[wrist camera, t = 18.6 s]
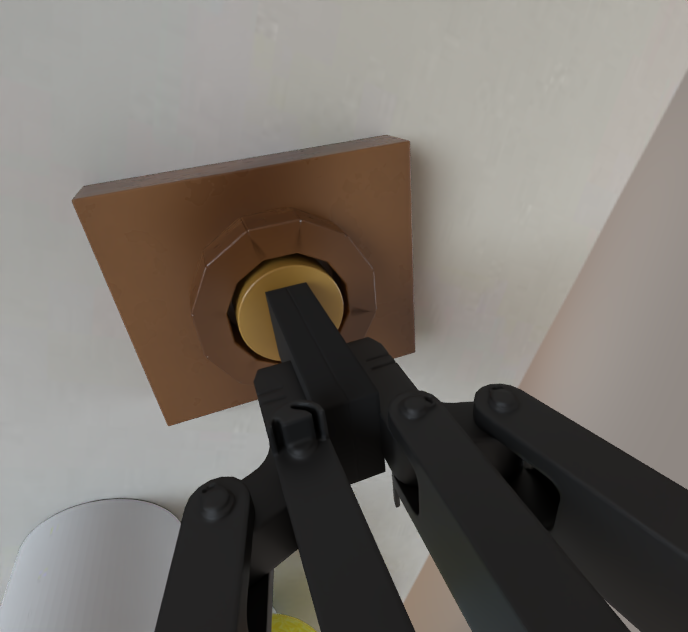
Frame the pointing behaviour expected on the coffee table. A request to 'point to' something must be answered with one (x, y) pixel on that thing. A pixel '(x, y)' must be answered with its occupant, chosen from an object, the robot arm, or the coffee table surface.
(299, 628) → the bowl
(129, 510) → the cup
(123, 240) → the brown button base
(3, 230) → the coffee table surface
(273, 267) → the button
